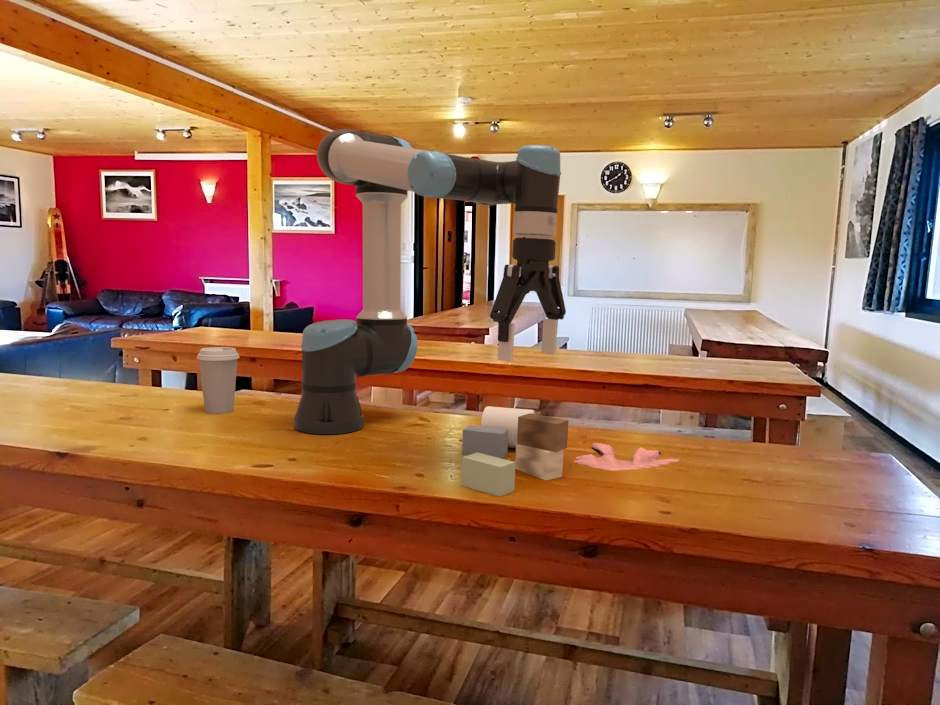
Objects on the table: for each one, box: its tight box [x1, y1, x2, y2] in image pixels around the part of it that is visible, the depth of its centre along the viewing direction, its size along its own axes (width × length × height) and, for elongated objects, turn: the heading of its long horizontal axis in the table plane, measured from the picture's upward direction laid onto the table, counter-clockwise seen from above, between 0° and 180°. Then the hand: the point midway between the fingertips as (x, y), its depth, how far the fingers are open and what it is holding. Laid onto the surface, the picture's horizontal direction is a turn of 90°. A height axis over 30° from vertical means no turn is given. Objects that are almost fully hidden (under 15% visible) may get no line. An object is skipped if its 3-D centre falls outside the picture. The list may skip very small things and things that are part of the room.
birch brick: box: [514, 442, 565, 481], centre depth 122 cm, size 8×4×5 cm, turn 38°
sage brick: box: [461, 453, 516, 498], centre depth 112 cm, size 8×4×5 cm, turn 51°
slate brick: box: [461, 424, 509, 459], centre depth 133 cm, size 8×4×5 cm, turn 70°
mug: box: [480, 405, 536, 449], centre depth 140 cm, size 12×10×8 cm
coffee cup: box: [196, 346, 240, 415], centre depth 162 cm, size 10×10×15 cm
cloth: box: [573, 442, 680, 471], centre depth 134 cm, size 20×22×2 cm
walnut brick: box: [517, 413, 569, 452], centre depth 121 cm, size 8×4×5 cm, turn 54°
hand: (527, 357), depth 122 cm, fingers open, 13 cm apart
